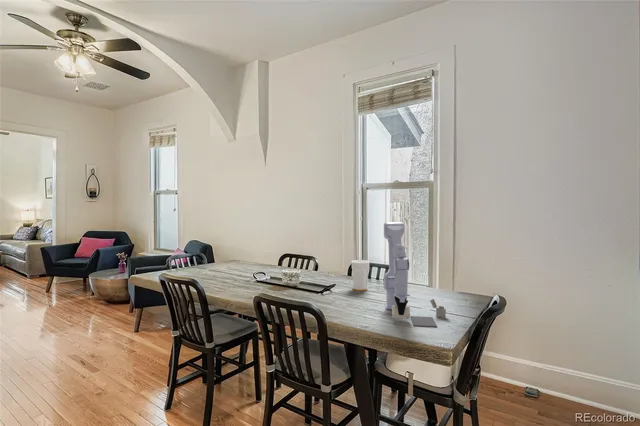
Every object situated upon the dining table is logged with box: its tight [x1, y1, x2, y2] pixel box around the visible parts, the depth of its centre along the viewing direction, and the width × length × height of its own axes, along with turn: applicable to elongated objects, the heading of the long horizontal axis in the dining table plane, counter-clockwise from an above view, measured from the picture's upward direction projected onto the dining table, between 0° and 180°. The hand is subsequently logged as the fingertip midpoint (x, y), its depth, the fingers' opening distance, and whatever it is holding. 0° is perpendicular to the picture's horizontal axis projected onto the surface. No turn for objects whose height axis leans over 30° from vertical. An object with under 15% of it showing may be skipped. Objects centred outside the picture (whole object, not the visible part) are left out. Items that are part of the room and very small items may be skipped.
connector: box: [391, 305, 411, 319], centre depth 159 cm, size 3×8×7 cm, turn 82°
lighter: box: [429, 298, 447, 319], centre depth 165 cm, size 7×2×8 cm, turn 56°
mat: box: [410, 315, 438, 328], centre depth 158 cm, size 12×10×1 cm
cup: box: [350, 259, 371, 292], centre depth 216 cm, size 11×11×17 cm
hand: (400, 313), depth 159 cm, fingers closed on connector, 3 cm apart
